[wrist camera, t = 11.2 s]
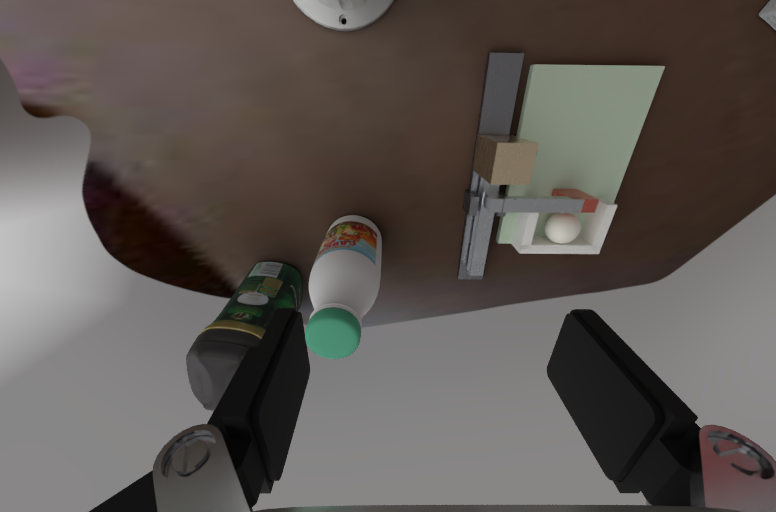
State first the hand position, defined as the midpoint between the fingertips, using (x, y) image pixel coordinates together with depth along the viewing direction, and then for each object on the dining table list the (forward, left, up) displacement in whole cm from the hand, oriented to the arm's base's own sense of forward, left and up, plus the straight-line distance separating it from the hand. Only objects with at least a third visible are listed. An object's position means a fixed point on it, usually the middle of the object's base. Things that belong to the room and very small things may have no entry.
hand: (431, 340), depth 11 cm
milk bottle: (+10, -6, -31) cm, 33 cm away
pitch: (-1, +21, -30) cm, 37 cm away
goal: (+7, +21, -29) cm, 37 cm away
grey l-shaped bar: (+5, +16, -29) cm, 33 cm away
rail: (+2, +11, -30) cm, 32 cm away
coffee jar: (+18, -18, -31) cm, 40 cm away
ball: (+7, +21, -27) cm, 35 cm away
